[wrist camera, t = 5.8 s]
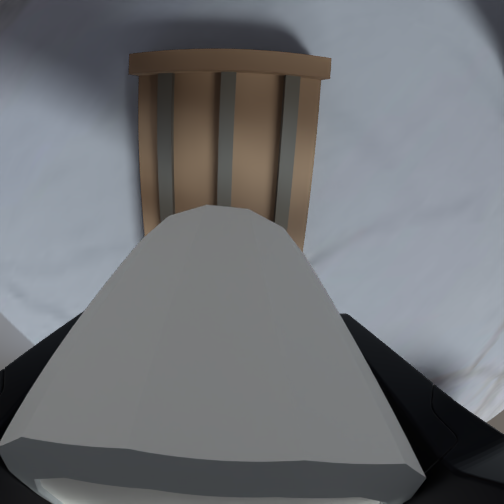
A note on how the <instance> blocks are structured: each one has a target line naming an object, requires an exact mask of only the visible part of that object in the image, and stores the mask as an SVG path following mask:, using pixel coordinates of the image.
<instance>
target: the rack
mask: <svg viewBox="0 0 504 504" xmlns="http://www.w3.org/2000/svg"><path fill="white" fill-rule="evenodd" d="M330 72H331V58H326V57H320V56H313V55H306V54H298V53H289V52H278V51H266V50H250V49H180V50H164V51H152V52H142V53H133V54H129V74H130V75H136V76H139V90H138V132H139V164H140V183H141V198H142V211H143V222H144V233H145V236H146V235H147V234H148V233H149V232H151V231H152V230H153V229H154V228H155V227H156V226H158V225H159V224H160V223H161V222H162V221H163V220H165V219H166V218H167V217H168V216H170V215H174V214H177V213H180V212H184V211H187V210H190V209H194V208H197V207H201V206H204V205H215V206H225V207H235V208H244V209H249V210H251V211H253V212H255V213H257V214H259V215H261V216H263V217H265V218H266V219H268V220H270V221H272V222H274V223H276V224H278V225H279V226H281V227H283V228H284V229H285V230H286V232H287V233H288V234H289V235H290V237H291V238H292V239H293V241H294V242H295V243H296V244H297V246H298V247H299V248H300V250H301V251H302V252H303V245H304V238H305V231H306V223H307V215H308V207H309V199H310V191H311V182H312V173H313V164H314V154H315V145H316V134H317V123H318V112H319V100H320V87H321V80H325V79H330Z"/></svg>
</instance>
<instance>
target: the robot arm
mask: <svg viewBox="0 0 504 504" xmlns="http://www.w3.org/2000/svg"><path fill="white" fill-rule="evenodd" d="M83 312H84V311H83ZM83 312H82V313H83ZM82 313H80V314H79V315H78V316H76V317H75V318H73V319H72V320H70V321H69V322H67V323H66V324H65V325H63V326H62V327H60V328H59V329H57V330H56V331H55V332H53V333H52V334H50V335H49V336H48V337H46V338H45V339H43V340H42V341H41V342H39V343H38V344H36V345H35V346H34V347H33V348H31V349H30V350H28V351H27V352H25V353H24V354H23V355H21V356H20V357H19V358H17V359H16V360H14V362H12V363H10V364H9V365H8V366H7V367H5V370H4V369H3V370H1V371H0V441H1V439H2V437H3V435H4V433H5V432H6V430H7V428H8V426H9V424H10V423H11V421H12V419H13V417H14V416H15V414H16V412H17V411H18V409H19V407H20V406H21V404H22V402H23V401H24V399H25V397H26V396H27V394H28V392H29V391H30V389H31V388H32V386H33V384H34V383H35V381H36V380H37V378H38V377H39V375H40V374H41V372H42V371H43V369H44V367H45V366H46V364H47V363H48V361H49V360H50V359H51V357H52V356H53V354H54V353H55V351H56V350H57V348H58V347H59V345H60V344H61V343H62V341H63V340H64V338H65V337H66V335H67V334H68V333H69V331H70V330H71V328H72V327H73V326H74V324H75V323H76V322H77V320H78V319H79V317H80V316H81V315H82ZM340 316H341V317H342V319H343V321H344V323H345V324H346V326H347V328H348V330H349V331H350V333H351V335H352V337H353V338H354V340H355V342H356V344H357V346H358V347H359V349H360V351H361V353H362V355H363V356H364V358H365V360H366V362H367V364H368V365H369V367H370V369H371V371H372V373H373V375H374V376H375V378H376V380H377V382H378V384H379V386H380V388H381V389H382V391H383V393H384V395H385V397H386V399H387V401H388V403H389V405H390V406H391V408H392V410H393V412H394V414H395V416H396V418H397V420H398V422H399V424H400V426H401V428H402V430H403V432H404V434H405V436H406V438H407V440H408V442H409V444H410V446H411V448H412V450H413V452H414V454H415V456H416V458H417V460H418V462H419V464H420V466H421V468H422V470H423V472H424V474H425V476H426V479H425V481H424V482H423V483H422V485H421V486H420V487H419V489H418V490H417V491H416V492H415V494H414V495H413V496H412V498H411V499H409V500H408V501H406V502H404V503H403V504H504V434H502V433H501V432H499V431H498V430H496V429H495V428H493V427H492V426H490V425H489V424H487V423H486V422H485V421H483V420H482V419H480V418H479V417H477V416H476V415H474V414H473V413H471V412H470V411H468V410H467V409H466V408H464V407H463V406H461V405H460V404H459V403H457V402H456V401H455V400H453V399H452V398H451V397H450V396H448V395H447V394H446V393H444V392H443V391H442V390H441V389H440V388H438V387H437V386H436V385H433V383H432V382H431V381H430V380H428V379H427V378H426V377H425V376H424V375H422V374H421V373H420V372H419V371H418V370H416V369H415V368H414V367H413V366H411V365H410V364H409V363H408V362H407V361H405V360H404V359H403V358H402V357H400V356H399V355H398V354H397V353H395V352H394V351H393V350H392V349H391V348H389V347H388V346H387V345H386V344H384V343H383V342H382V341H381V340H379V339H378V338H377V337H376V336H375V335H373V334H372V333H371V332H370V331H368V330H367V329H366V328H365V327H363V326H362V325H361V324H360V323H358V322H357V321H356V320H355V319H353V318H352V317H351V316H350V315H348V314H340ZM0 504H52V503H51V502H49V501H48V500H46V499H44V498H43V497H41V496H40V495H38V494H37V493H36V492H34V491H33V490H32V489H30V488H29V487H28V486H27V485H25V484H24V483H23V482H22V481H21V480H19V479H18V478H17V477H16V476H15V475H14V474H12V473H11V472H10V471H9V470H8V468H7V466H6V464H5V463H4V461H3V459H2V457H1V455H0Z"/></svg>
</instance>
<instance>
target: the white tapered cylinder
mask: <svg viewBox="0 0 504 504" xmlns="http://www.w3.org/2000/svg"><path fill="white" fill-rule="evenodd" d="M0 455H1V457H2V459H3V461H4V463H5V464H6V466H7V468H8V470H9V471H10V472H11V473H12V474H14V475H15V476H16V477H17V478H18V479H19V480H21V481H22V482H23V483H24V484H25V485H27V486H28V487H29V488H30V489H32V490H33V491H34V492H36V493H37V494H38V495H40V496H41V497H43V498H44V499H46V500H48V501H49V502H51V503H52V504H403V503H404V502H406V501H408V500H409V499H411V498H412V496H413V495H414V494H415V492H416V491H417V490H418V489H419V487H420V486H421V485H422V483H423V482H424V481H425V479H426V476H425V474H424V472H423V470H422V468H421V466H420V464H419V462H418V460H417V458H416V456H415V454H414V452H413V450H412V448H411V446H410V444H409V442H408V440H407V438H406V436H405V434H404V432H403V430H402V428H401V426H400V424H399V422H398V420H397V418H396V416H395V414H394V412H393V410H392V408H391V406H390V405H389V403H388V401H387V399H386V397H385V395H384V393H383V391H382V389H381V388H380V386H379V384H378V382H377V380H376V378H375V376H374V375H373V373H372V371H371V369H370V367H369V365H368V364H367V362H366V360H365V358H364V356H363V355H362V353H361V351H360V349H359V347H358V346H357V344H356V342H355V340H354V338H353V337H352V335H351V333H350V331H349V330H348V328H347V326H346V324H345V323H344V321H343V319H342V317H341V316H340V314H339V312H338V310H337V309H336V307H335V305H334V304H333V302H332V300H331V298H330V297H329V295H328V293H327V292H326V290H325V288H324V286H323V285H322V283H321V281H320V280H319V278H318V276H317V275H316V273H315V271H314V270H313V268H312V266H311V265H310V263H309V261H308V260H307V258H306V256H305V255H304V254H303V252H302V251H301V250H300V248H299V247H298V246H297V244H296V243H295V242H294V241H293V239H292V238H291V237H290V235H289V234H288V233H287V232H286V230H285V229H284V228H283V227H281V226H279V225H278V224H276V223H274V222H272V221H270V220H268V219H266V218H265V217H263V216H261V215H259V214H257V213H255V212H253V211H251V210H249V209H244V208H235V207H225V206H215V205H204V206H201V207H197V208H194V209H190V210H187V211H184V212H180V213H177V214H174V215H170V216H168V217H167V218H166V219H165V220H163V221H162V222H161V223H160V224H159V225H158V226H156V227H155V228H154V229H153V230H152V231H151V232H149V233H148V234H147V235H146V236H145V237H144V238H143V239H142V240H141V241H140V242H139V243H138V244H137V245H136V247H135V248H134V249H133V250H132V251H131V253H130V254H129V255H128V256H127V257H126V259H125V260H124V261H123V262H122V263H121V265H120V266H119V267H118V268H117V270H116V271H115V272H114V273H113V275H112V276H111V277H110V278H109V280H108V281H107V282H106V283H105V285H104V286H103V287H102V288H101V290H100V291H99V292H98V294H97V295H96V296H95V298H94V299H93V300H92V301H91V303H90V304H89V305H88V307H87V308H86V309H85V311H84V312H83V313H82V315H81V316H80V317H79V319H78V320H77V322H76V323H75V324H74V326H73V327H72V328H71V330H70V331H69V333H68V334H67V335H66V337H65V338H64V340H63V341H62V343H61V344H60V345H59V347H58V348H57V350H56V351H55V353H54V354H53V356H52V357H51V359H50V360H49V361H48V363H47V364H46V366H45V367H44V369H43V371H42V372H41V374H40V375H39V377H38V378H37V380H36V381H35V383H34V384H33V386H32V388H31V389H30V391H29V392H28V394H27V396H26V397H25V399H24V401H23V402H22V404H21V406H20V407H19V409H18V411H17V412H16V414H15V416H14V417H13V419H12V421H11V423H10V424H9V426H8V428H7V430H6V432H5V433H4V435H3V437H2V439H1V441H0Z"/></svg>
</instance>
